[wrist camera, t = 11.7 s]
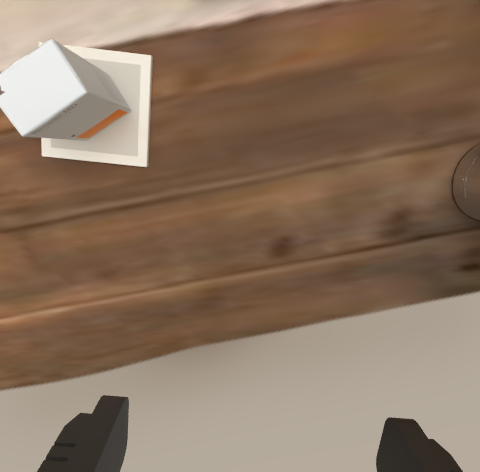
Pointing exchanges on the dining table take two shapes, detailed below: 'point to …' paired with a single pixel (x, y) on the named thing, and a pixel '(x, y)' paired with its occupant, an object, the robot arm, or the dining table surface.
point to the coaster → (124, 129)
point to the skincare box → (59, 95)
